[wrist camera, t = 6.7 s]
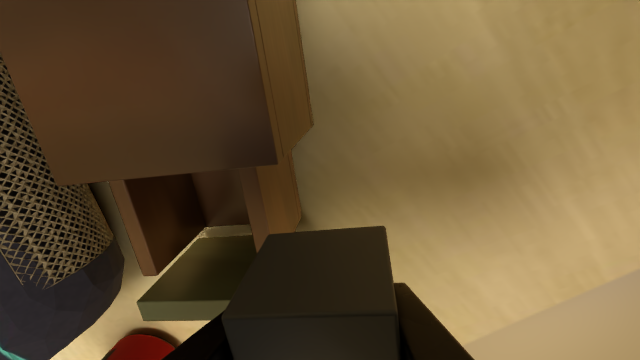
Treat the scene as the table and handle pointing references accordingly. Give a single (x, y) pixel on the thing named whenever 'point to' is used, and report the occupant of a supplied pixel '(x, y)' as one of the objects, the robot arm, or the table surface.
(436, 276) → the table surface
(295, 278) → the block
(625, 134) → the table surface
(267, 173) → the drawer
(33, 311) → the portable speaker
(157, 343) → the beverage can
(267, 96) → the cabinet
